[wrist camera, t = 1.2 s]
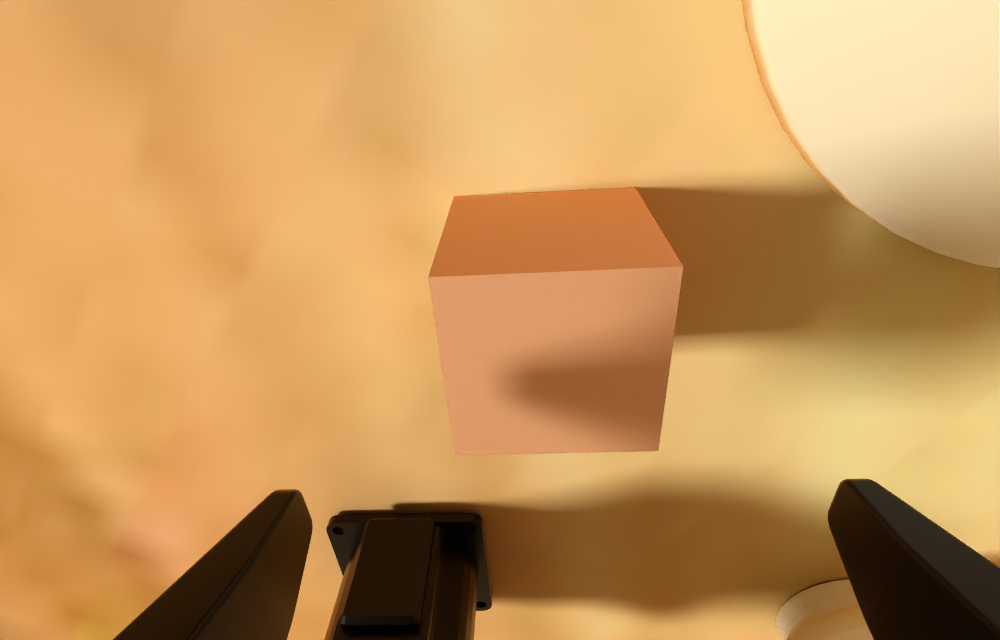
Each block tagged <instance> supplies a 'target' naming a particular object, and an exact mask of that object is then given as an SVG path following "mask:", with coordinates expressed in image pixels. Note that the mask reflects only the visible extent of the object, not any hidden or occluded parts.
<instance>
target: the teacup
mask: <svg viewBox="0 0 1000 640" xmlns="http://www.w3.org/2000/svg"><path fill="white" fill-rule="evenodd" d="M776 627H777V630H778V632H779V633H780V635H781V636H782V638H783V639H784V640H874V639H873V637H872V635H871V633H870V631H869V628H868V626H867V624H866V622H865V620H864V617H863V615H862V612H861V610H860V607H859V605H858V602H857V599H856V597H855V594H854V591H853V589H852V586H851V583H850V581H849V579H845V580H838V581H831V582H827V583H823V584H820V585H816V586H813V587H811V588H808V589H806V590H803V591H802V592H800V593H798V594H796V595H795V596H793V597H792V598H791V599H789V600H788V601H787V602H786V603H785V604H784V605H783V606H782V607H781V609H780V610H779V612H778V614H777V617H776Z"/></svg>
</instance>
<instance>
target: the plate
mask: <svg viewBox="0 0 1000 640" xmlns="http://www.w3.org/2000/svg"><path fill="white" fill-rule="evenodd" d="M742 6H743V13H744V20H745V27H746V31H747V35H748V38H749V42H750V45H751V49H752V52H753V56H754V59H755V63H756V66H757V70H758V73H759V77H760V80H761V83H762V85H763V87H764V89H765V92H766V94H767V96H768V98H769V100H770V102H771V105H772V107H773V109H774V111H775V113H776V115H777V118H778V120H779V122H780V124H781V126H782V128H783V129H784V131H785V132H786V134H787V135H788V137H789V138H790V140H791V141H792V142H793V144H794V145H795V147H796V148H797V150H798V151H799V153H800V154H801V156H802V157H803V159H804V160H805V162H806V163H807V164H808V165H809V166H810V167H811V168H812V169H813V170H814V171H815V172H816V173H817V174H818V175H819V176H820V177H821V178H822V179H823V181H824V182H825V183H826V184H827V185H828V186H829V187H830V188H831V189H832V190H833V191H834V192H835V193H836V194H838V195H839V196H840V197H842V198H843V199H845V200H846V201H847V202H849V203H850V204H852V205H853V206H855V207H856V208H857V209H859V210H860V211H862V212H863V213H864V214H866V215H867V216H869V217H870V218H872V219H873V220H875V221H876V222H878V223H879V224H881V225H883V226H884V227H886V228H887V229H889V230H890V231H892V232H894V233H895V234H897V235H899V236H901V237H903V238H905V239H907V240H909V241H912V242H914V243H916V244H918V245H920V246H922V247H924V248H926V249H928V250H931V251H933V252H935V253H938V254H941V255H945V256H948V257H952V258H955V259H958V260H962V261H965V262H969V263H972V264H976V265H980V266H987V267H994V268H1000V0H742Z"/></svg>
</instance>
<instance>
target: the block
mask: <svg viewBox="0 0 1000 640" xmlns="http://www.w3.org/2000/svg"><path fill="white" fill-rule="evenodd" d="M682 273H683V265H682V263H681V262H680V260H679V258H678V257H677V255H676V254H675V252H674V250H673V249H672V247H671V245H670V244H669V242H668V240H667V239H666V237H665V235H664V234H663V232H662V231H661V229H660V227H659V226H658V224H657V222H656V221H655V219H654V217H653V216H652V214H651V212H650V211H649V209H648V207H647V206H646V204H645V203H644V201H643V199H642V198H641V196H640V194H639V193H638V191H637V189H636V188H635V187H631V188H611V189H591V190H571V191H552V192H532V193H512V194H492V195H472V196H454V198H453V201H452V204H451V208H450V211H449V214H448V217H447V220H446V223H445V226H444V230H443V233H442V236H441V239H440V242H439V245H438V248H437V252H436V255H435V258H434V261H433V264H432V267H431V270H430V274H429V277H428V278H429V285H430V292H431V298H432V305H433V311H434V318H435V325H436V331H437V338H438V345H439V351H440V358H441V365H442V371H443V378H444V385H445V391H446V398H447V405H448V411H449V418H450V425H451V431H452V438H453V445H454V451H455V455H501V454H546V453H592V452H637V451H658V449H659V442H660V434H661V427H662V420H663V412H664V405H665V398H666V390H667V383H668V376H669V368H670V361H671V354H672V346H673V339H674V332H675V324H676V317H677V310H678V302H679V295H680V288H681V280H682Z"/></svg>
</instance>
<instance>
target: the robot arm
mask: <svg viewBox="0 0 1000 640" xmlns="http://www.w3.org/2000/svg"><path fill="white" fill-rule="evenodd" d="M828 523H829V527H830V530H831V533H832V535H833V538H834V541H835V543H836V546H837V549H838V551H839V554H840V557H841V559H842V562H843V565H844V567H845V570H846V573H847V575H848V578H849V581H850V583H851V586H852V589H853V591H854V594H855V597H856V599H857V602H858V605H859V607H860V610H861V612H862V615H863V617H864V620H865V622H866V624H867V626H868V628H869V631H870V633H871V635H872V637H873V639H874V640H1000V568H999V567H998V566H996V565H995V564H993V563H992V562H991V561H989V560H988V559H986V558H985V557H983V556H982V555H980V554H979V553H978V552H976V551H975V550H973V549H972V548H970V547H969V546H967V545H966V544H965V543H963V542H962V541H960V540H959V539H957V538H956V537H954V536H953V535H952V534H950V533H949V532H947V531H946V530H944V529H943V528H941V527H940V526H939V525H937V524H936V523H934V522H933V521H931V520H930V519H928V518H927V517H926V516H924V515H923V514H921V513H920V512H918V511H917V510H915V509H914V508H913V507H911V506H910V505H908V504H907V503H905V502H904V501H902V500H901V499H900V498H898V497H897V496H895V495H894V494H892V493H891V492H889V491H888V490H887V489H885V488H884V487H882V486H881V485H879V484H878V483H876V482H874V481H872V480H869V479H845V480H843V481H842V482H841V483H840V484H839V486H838V488H837V491H836V493H835V496H834V498H833V501H832V503H831V506H830V508H829V511H828ZM327 533H328V536H329V539H330V541H331V544H332V547H333V550H334V552H335V555H336V558H337V560H338V563H339V566H340V568H341V571H342V574H343V580H342V583H341V586H340V590H339V593H338V596H337V599H336V603H335V606H334V609H333V613H332V616H331V619H330V623H329V626H328V629H327V633H326V636H325V639H324V640H474V629H475V615H476V611H483V610H488V609H490V608H491V606H492V591H491V583H490V574H489V566H488V558H487V550H486V541H485V533H484V525H483V520H482V518H481V517H480V516H479V515H476V514H472V513H450V514H378V515H336V516H333V517H331V518H330V520H329V523H328V525H327ZM311 535H312V519H311V516H310V514H309V511H308V508H307V506H306V503H305V501H304V498H303V495H302V493H301V492H300V491H299V490H296V489H289V490H276V491H274V492H272V493H271V494H270V495H269V496H267V497H266V498H265V499H264V500H263V501H262V502H261V503H260V504H259V505H258V506H257V507H256V508H254V509H253V510H252V511H251V512H250V513H249V514H248V515H247V516H246V517H245V518H244V519H243V520H241V521H240V522H239V523H238V524H237V525H236V526H235V527H234V528H233V529H232V530H231V531H230V532H229V533H227V534H226V535H225V536H224V537H223V538H222V539H221V540H220V541H219V542H218V543H217V544H216V545H214V546H213V547H212V548H211V549H210V550H209V551H208V552H207V553H206V554H205V555H204V556H203V557H202V558H200V559H199V560H198V561H197V562H196V563H195V564H194V565H193V566H192V567H191V568H190V569H189V570H187V571H186V572H185V573H184V574H183V575H182V576H181V577H180V578H179V579H178V580H177V581H176V582H174V583H173V584H172V585H171V586H170V587H169V588H168V589H167V590H166V591H165V592H164V593H163V594H162V595H160V596H159V597H158V598H157V599H156V600H155V601H154V602H153V603H152V604H151V605H150V606H149V607H147V608H146V609H145V610H144V611H143V612H142V613H141V614H140V615H139V616H138V617H137V618H136V619H134V620H133V621H132V622H131V623H130V624H129V625H128V626H127V627H126V628H125V629H124V630H123V631H122V632H120V633H119V634H118V635H117V636H116V637H115V638H114V639H113V640H287V637H288V633H289V630H290V627H291V624H292V620H293V615H294V611H295V607H296V603H297V598H298V594H299V589H300V585H301V580H302V576H303V571H304V567H305V562H306V558H307V553H308V549H309V544H310V540H311Z"/></svg>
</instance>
